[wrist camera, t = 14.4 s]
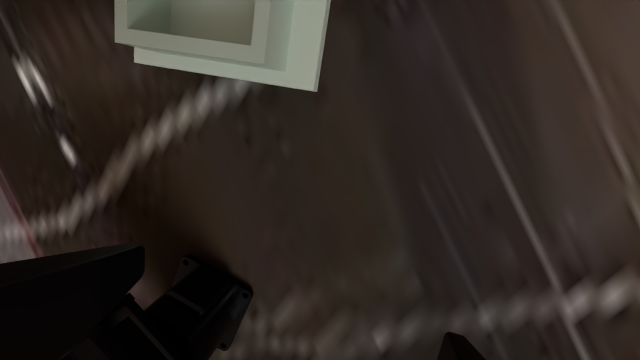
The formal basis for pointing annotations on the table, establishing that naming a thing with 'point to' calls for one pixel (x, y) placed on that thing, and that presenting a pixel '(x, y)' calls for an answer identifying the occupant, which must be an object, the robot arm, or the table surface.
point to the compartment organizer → (229, 37)
